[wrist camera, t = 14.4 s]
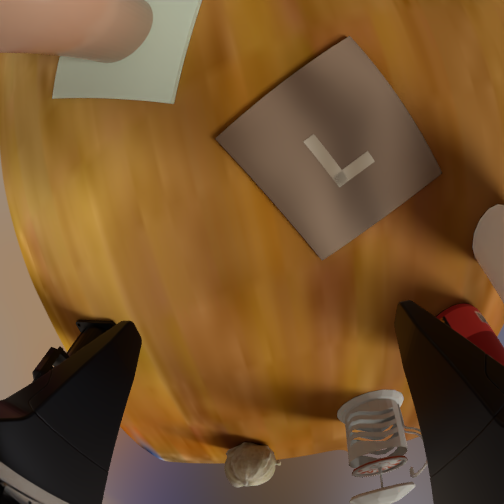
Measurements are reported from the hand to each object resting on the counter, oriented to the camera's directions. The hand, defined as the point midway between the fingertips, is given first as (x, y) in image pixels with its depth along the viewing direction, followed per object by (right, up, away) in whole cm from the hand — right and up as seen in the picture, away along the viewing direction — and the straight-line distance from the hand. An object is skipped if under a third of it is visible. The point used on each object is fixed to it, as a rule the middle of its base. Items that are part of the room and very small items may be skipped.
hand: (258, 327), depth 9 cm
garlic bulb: (0, -31, +31) cm, 44 cm away
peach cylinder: (-10, +19, +5) cm, 22 cm away
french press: (+17, -19, +23) cm, 34 cm away
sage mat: (-10, +19, +6) cm, 23 cm away
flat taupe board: (+6, +9, +9) cm, 14 cm away
